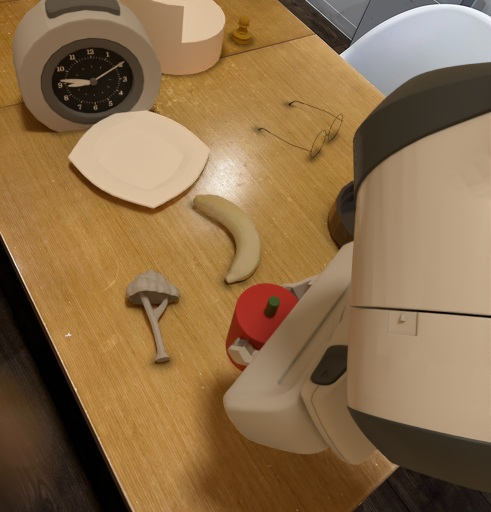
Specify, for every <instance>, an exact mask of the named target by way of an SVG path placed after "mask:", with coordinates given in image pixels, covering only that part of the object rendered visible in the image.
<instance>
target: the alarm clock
mask: <svg viewBox="0 0 491 512" xmlns="http://www.w3.org/2000/svg"><path fill="white" fill-rule="evenodd" d="M11 49H12V50H11V51H12V62H13V67H14V71H15V77H16V80H17V85H18V89H19V93H20V95H21V97H22V100H23V103H24V105H25V107H26V108H27V109H28V111H29V112H30V113H31V114H32V116H33V117H34V118H35V119H36V120H37V121H39V122H40V123H41V124H43V125H44V126H45V127H46V128H48V129H50V130H52V131H54V132H56V133H63V132H71V131H79V130H89V129H90V128H91V127H92V126H93V125H95V124H96V123H98V122H99V121H101V120H103V119H105V118H107V117H109V116H111V115H113V114H115V113H124V112H136V111H146V110H147V111H150V110H152V108H153V107H154V105H155V104H156V101H157V99H158V97H159V95H160V92H161V87H162V82H163V73H161V65H160V61H159V59H158V57H157V54H156V52H155V50H154V48H153V46H152V43H151V41H150V39H149V37H148V35H147V33H146V30H145V28H144V26H143V24H142V22H141V21H140V20H139V19H138V17H137V16H136V15H135V14H134V13H133V11H132V10H131V9H130V8H128V7H127V6H125V5H124V4H123V3H121V2H120V1H119V0H40V1H39V2H38V3H36V4H35V5H34V6H33V7H31V8H30V9H29V10H28V11H26V13H25V14H24V16H23V17H22V19H21V21H20V22H19V23H18V25H17V26H16V28H15V31H14V36H13V41H12V44H11Z"/></svg>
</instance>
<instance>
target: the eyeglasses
mask: <svg viewBox="0 0 491 512" xmlns="http://www.w3.org/2000/svg"><path fill="white" fill-rule="evenodd" d="M295 102H296V103H298V104H301V105H306V106H309V107H312V108H313V109H317V110H319V111H323V112H325V113H327V114H329V115H331V116H332V117H334V118H335V119H334V120H333V121H332V124H331V126H330V128H329V131H328V133H327V131H326V130H325V129H324V130H321V131H320V132H319V133H318V134H317V135H316V138H315V139H314V142H313V144H312V146H311V149H310V150H309V149H306V148H303V147H300V146H296V145H294V144H292V143H289V142H287V141H286V140H284V139H282V138H281V137H279V136H277V135H276V134H273V133H272V132H271V131H269V130H267V129H266V128H264V127H260V128H258V129H257V130H258V131H261V130H264V131H265V132H267V133H269V134H271V135H272V136H274V137H276V138H278V139H279V140H281V141H284V143H287V144H288V145H291V146H292V147H295V148H297V149H301V150H305V151H308V152H310V153H312V150H313V147H314V145H315V143H316V140H317V139H318V137H319V135H320V134H321V133H323V132H325V135H323V138H324V140H323V142H322V145H321V147H320V149H319V150H318V152H317V153H316V154H315V155H314V156H312V155H310V157H311V158H313V159H314V158H315V157H316V156H318V154H319V153H320V151H321V150H322V148H323V146H324V143H325V141H326V138H327V140H328V141H329V142H330V141H333V139H334V138H335V137H336V136H337V134H338V132H339V131H340V128H341V126H342V123H343V121H344V115H343V114H341V113H339V114H338V115H337V116H335V115H334V114H332V113H330V112H328V111H326V110H324V109H321V108H318V107H316V106H312V105H310V104H307V103H304V102H302V101H298V100H293V101H291V102H289V103H288V106H290V105H292V104H293V103H295ZM339 116H341V119H340V118H338V117H339ZM336 120H339V121H341V122H340V126H339V127H338V129H337V131H336V133H335V135H334V136H333V137H332V138H331V139H330V137H329V136H330V134H331V130H332V127H333V125H334V123H335V121H336Z"/></svg>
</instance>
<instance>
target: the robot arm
mask: <svg viewBox="0 0 491 512" xmlns="http://www.w3.org/2000/svg"><path fill="white" fill-rule="evenodd" d="M352 159H353V160H352V163H353V164H352V165H353V168H352V169H353V180H354V201H355V205H356V216H355V230H354V241H352V242H350V243H347V244H345V245H343V246H342V247H341V248H340V249H338V251H337V253H335V255H334V256H333V257H332V259H331V260H330V261H329V262H328V264H327V265H326V266H325V267H324V268H323V270H322V271H321V273H320V274H314V275H312V276H308V277H306V278H304V279H301V280H298V281H296V282H295V283H293V282H284V283H282V284H281V285H280V286H281V287H283V288H285V289H287V290H288V291H290V292H291V293H292V294H293V295H294V296H295V297H296V298H297V300H298V301H299V302H298V303H297V304H296V305H295V307H294V308H293V309H292V310H291V312H290V313H289V314H288V315H287V317H286V318H285V319H284V321H283V322H282V323H281V324H280V326H279V327H278V328H277V329H276V331H275V332H274V333H273V334H272V336H271V337H270V338H269V339H268V341H267V342H266V343H265V344H264V346H263V347H262V348H261V349H260V351H258V350H256V349H255V348H253V344H252V343H251V341H250V340H249V339H245V338H244V339H241V338H239V337H238V338H237V339H236V340H235V341H234V343H233V344H232V345H231V346H230V347H229V348H228V353H229V354H230V356H231V358H232V359H233V360H234V361H235V362H236V363H237V364H241V365H246V366H247V367H246V368H245V370H244V371H243V372H242V371H241V373H240V375H239V376H238V377H237V378H236V380H235V381H234V382H233V383H232V384H231V386H230V387H229V388H228V390H227V391H226V392H225V393H224V395H223V399H222V403H223V407H224V411H225V414H226V416H227V417H228V418H229V420H230V422H231V423H232V425H233V426H234V427H235V429H236V430H237V431H238V432H239V434H241V435H242V437H244V438H246V439H247V440H249V441H252V442H253V443H256V444H259V445H262V446H265V447H269V448H272V449H275V450H280V451H284V452H288V453H293V454H297V455H298V454H299V455H313V454H319V453H322V452H324V451H326V450H327V449H329V448H330V450H331V451H332V452H333V454H334V455H335V456H336V457H338V459H339V460H340V461H342V462H344V463H346V464H348V465H349V464H350V465H355V466H357V465H360V464H363V463H365V462H366V461H367V460H368V459H369V458H370V457H372V455H373V454H374V453H376V451H378V452H379V453H380V454H381V455H383V456H384V457H385V458H386V459H387V460H388V462H390V463H392V464H393V465H396V466H398V467H401V468H403V469H407V470H409V471H413V472H416V473H419V474H422V475H425V476H428V477H430V478H434V479H437V480H440V481H444V482H447V483H450V484H452V485H453V484H454V485H457V486H461V487H464V488H466V489H467V488H468V489H471V490H475V491H478V492H483V493H488V494H491V61H485V62H476V63H466V64H458V65H452V66H446V67H440V68H436V69H431V70H428V71H425V72H422V73H420V74H416V75H414V76H413V77H411V78H409V79H408V80H406V81H405V82H403V83H402V84H400V85H399V86H397V88H395V89H394V90H393V91H392V92H391V93H389V94H388V95H387V96H386V97H385V98H384V99H382V100H381V102H379V103H378V105H377V106H376V107H375V108H373V110H372V111H371V112H370V113H369V114H368V115H367V117H366V118H365V119H364V120H363V121H362V122H361V124H360V125H359V126H358V127H357V129H356V130H355V133H354V134H353V138H352Z"/></svg>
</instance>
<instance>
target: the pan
mask: <svg viewBox="0 0 491 512" xmlns="http://www.w3.org/2000/svg"><path fill="white" fill-rule="evenodd" d="M355 216H356V205H355V201H354V179H353V180H351V181H349V182H348V183H347V184H345V185H344V186H343V187H341V189H340V190H339V192H338V194H337V196H336V198H335V200H334V202H333V205H332V207H331V209H330V212H329V216H328V227H329V230H330V233H331V236H332V238H333V240H334V241H335V242H336V243H337V245H338V247H339V248H340V249H341V247H342V246H343V245H345V244H347V243H350V242H352V241H354V230H355Z"/></svg>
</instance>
